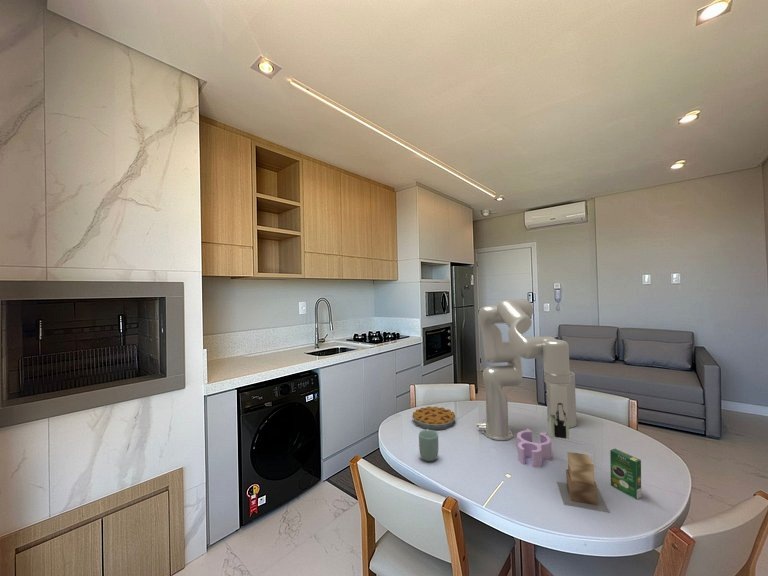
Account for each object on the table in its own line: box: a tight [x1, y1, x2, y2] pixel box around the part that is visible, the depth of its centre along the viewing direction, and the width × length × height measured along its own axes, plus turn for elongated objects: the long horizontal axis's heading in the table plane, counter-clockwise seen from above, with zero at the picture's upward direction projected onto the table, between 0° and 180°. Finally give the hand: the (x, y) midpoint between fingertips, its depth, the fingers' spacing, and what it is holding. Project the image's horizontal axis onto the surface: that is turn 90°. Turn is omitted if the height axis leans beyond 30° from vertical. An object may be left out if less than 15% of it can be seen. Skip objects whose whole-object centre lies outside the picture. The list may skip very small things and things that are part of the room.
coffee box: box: [609, 448, 642, 500], centre depth 101 cm, size 8×3×13 cm, turn 22°
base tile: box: [556, 481, 611, 514], centre depth 99 cm, size 12×12×1 cm
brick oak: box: [566, 451, 596, 484], centre depth 99 cm, size 6×6×6 cm
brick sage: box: [548, 413, 570, 440], centre depth 103 cm, size 5×5×6 cm
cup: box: [418, 429, 439, 462], centre depth 126 cm, size 8×8×10 cm
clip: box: [516, 428, 552, 468], centre depth 125 cm, size 20×12×7 cm, turn 145°
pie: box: [411, 406, 456, 431], centre depth 162 cm, size 22×22×5 cm
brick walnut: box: [565, 468, 598, 506], centre depth 99 cm, size 7×7×6 cm
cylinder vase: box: [545, 371, 577, 429], centre depth 156 cm, size 12×12×25 cm
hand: (558, 433), depth 103 cm, fingers closed on brick sage, 5 cm apart
